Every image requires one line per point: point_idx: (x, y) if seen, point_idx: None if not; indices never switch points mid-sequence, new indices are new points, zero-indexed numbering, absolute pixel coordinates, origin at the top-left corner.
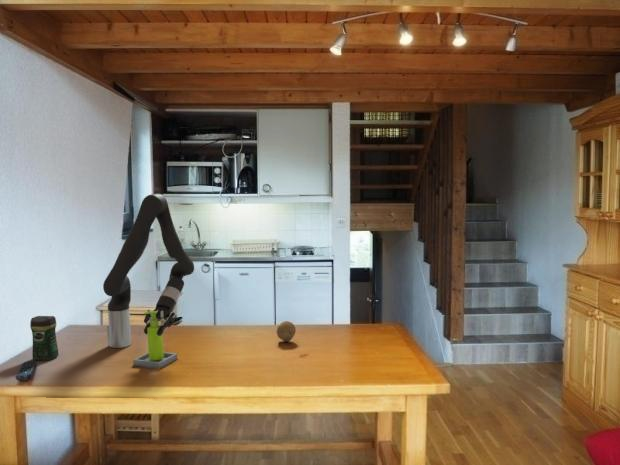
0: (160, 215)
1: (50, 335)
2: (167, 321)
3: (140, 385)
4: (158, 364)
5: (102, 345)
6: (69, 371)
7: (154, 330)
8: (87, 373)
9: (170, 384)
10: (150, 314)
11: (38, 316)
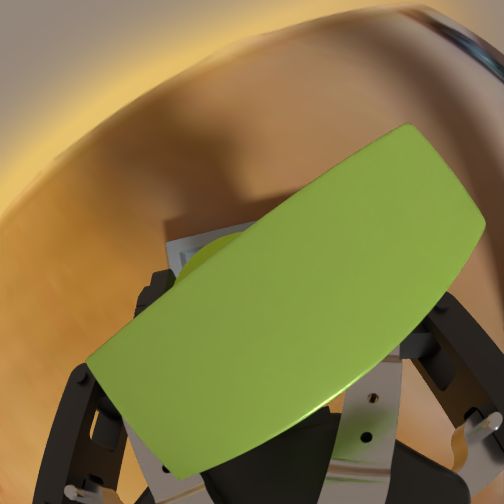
0: None
1: None
2: (76, 399)
3: (129, 116)
4: (172, 242)
5: None
6: (437, 81)
7: (189, 262)
8: (383, 85)
9: (56, 179)
10: (471, 426)
11: None
